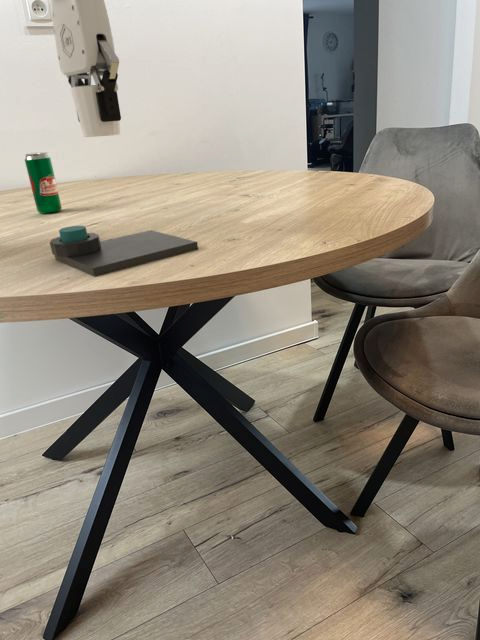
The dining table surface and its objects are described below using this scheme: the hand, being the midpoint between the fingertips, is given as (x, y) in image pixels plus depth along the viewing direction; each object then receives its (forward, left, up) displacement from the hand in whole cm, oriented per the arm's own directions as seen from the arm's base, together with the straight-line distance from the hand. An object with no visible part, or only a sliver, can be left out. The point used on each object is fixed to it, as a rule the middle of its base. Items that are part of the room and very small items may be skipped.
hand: (99, 120), depth 80 cm
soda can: (0, +33, -18) cm, 38 cm away
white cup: (0, 0, -2) cm, 2 cm away
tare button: (-12, -11, -15) cm, 22 cm away
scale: (-7, -15, -18) cm, 24 cm away
